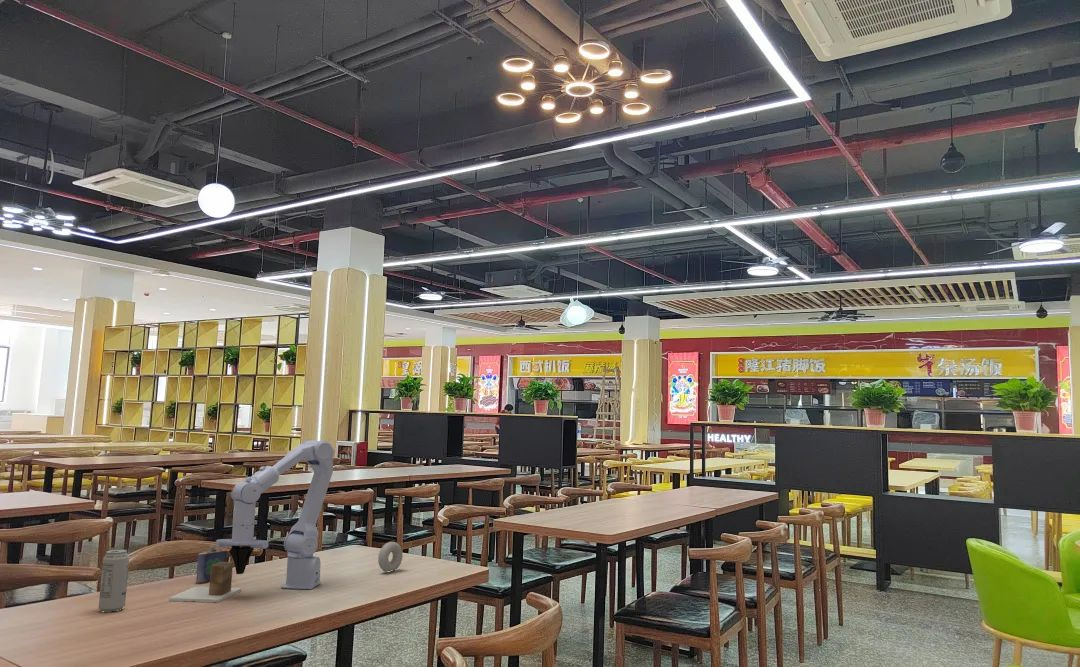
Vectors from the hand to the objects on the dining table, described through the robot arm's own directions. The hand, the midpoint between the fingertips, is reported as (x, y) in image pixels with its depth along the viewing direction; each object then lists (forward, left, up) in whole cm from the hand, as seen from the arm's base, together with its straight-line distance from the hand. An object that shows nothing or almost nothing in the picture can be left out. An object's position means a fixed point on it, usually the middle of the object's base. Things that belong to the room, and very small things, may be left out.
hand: (240, 573), depth 207 cm
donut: (-34, -39, -7) cm, 52 cm away
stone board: (+9, 0, -6) cm, 11 cm away
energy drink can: (+25, +18, -7) cm, 32 cm away
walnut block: (+5, 0, -6) cm, 8 cm away
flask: (+17, -18, -7) cm, 26 cm away
